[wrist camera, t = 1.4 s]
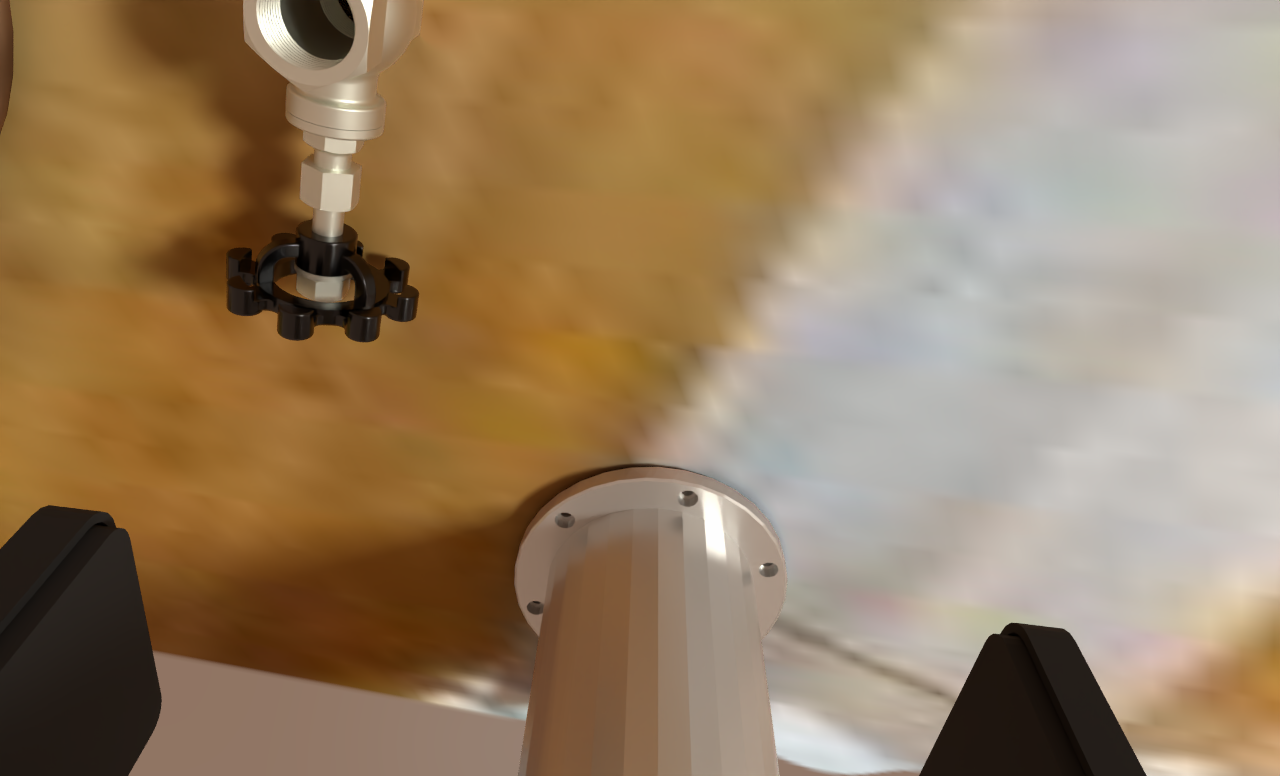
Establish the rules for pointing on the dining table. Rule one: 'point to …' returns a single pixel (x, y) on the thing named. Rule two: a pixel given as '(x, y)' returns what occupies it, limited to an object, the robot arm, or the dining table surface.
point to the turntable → (5, 58)
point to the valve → (327, 164)
